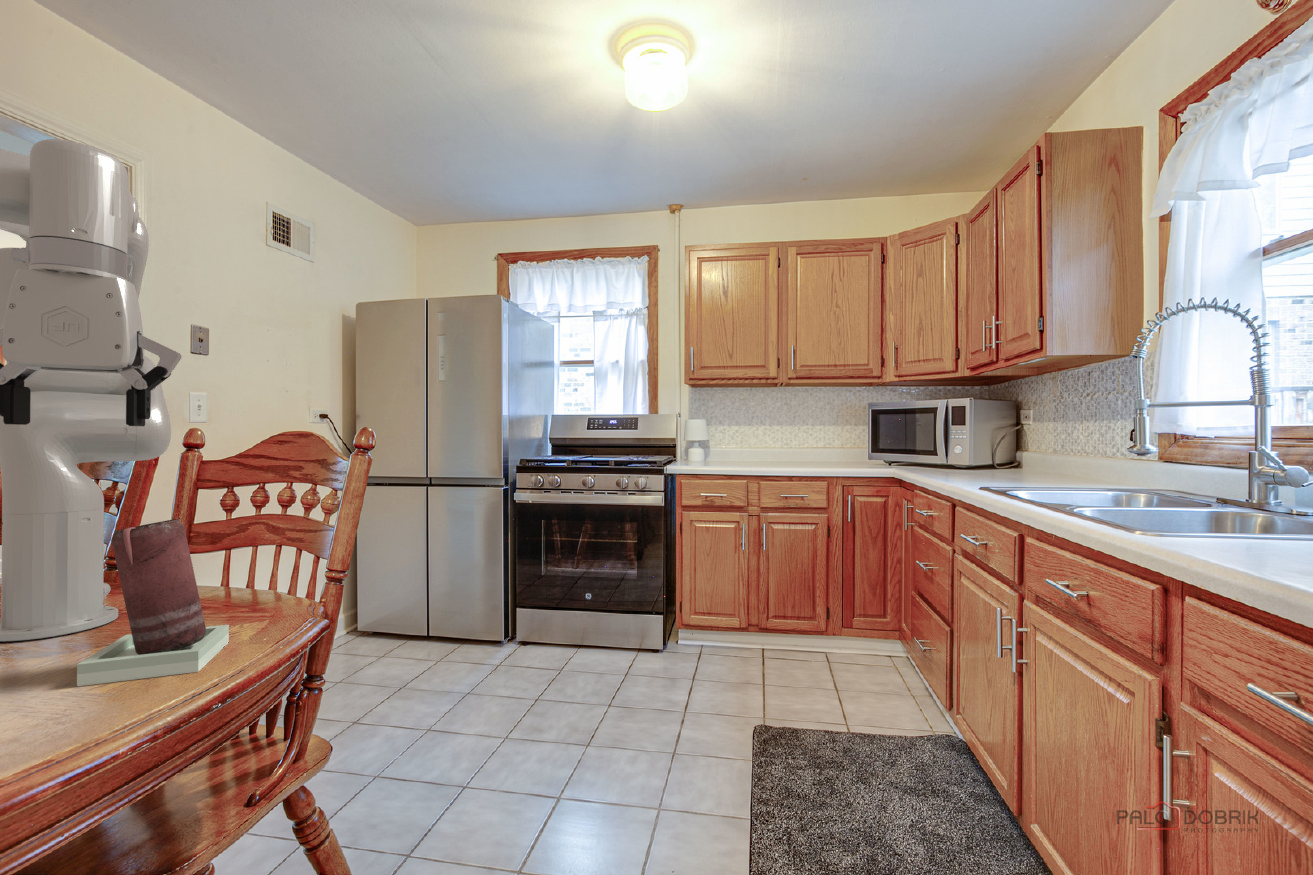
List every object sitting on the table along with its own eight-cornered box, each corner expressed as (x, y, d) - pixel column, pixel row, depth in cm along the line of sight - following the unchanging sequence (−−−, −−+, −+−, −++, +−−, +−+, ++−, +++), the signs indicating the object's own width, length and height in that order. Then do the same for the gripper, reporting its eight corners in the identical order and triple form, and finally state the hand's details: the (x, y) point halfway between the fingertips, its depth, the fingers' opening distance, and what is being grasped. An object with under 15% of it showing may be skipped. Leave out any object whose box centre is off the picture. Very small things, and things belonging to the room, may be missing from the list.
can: (122, 665, 61) (93, 534, 60) (156, 644, 67) (130, 525, 66) (190, 649, 62) (162, 522, 62) (217, 630, 69) (192, 514, 68)
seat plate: (125, 653, 68) (125, 634, 68) (228, 642, 71) (228, 624, 71) (77, 686, 58) (77, 664, 58) (198, 671, 62) (198, 650, 62)
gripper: (-60, 243, 55) (-62, 423, 55) (168, 267, 62) (167, 426, 62) (-9, 264, 62) (-11, 424, 62) (191, 283, 69) (189, 427, 69)
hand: (78, 425), depth 62 cm, fingers open, 9 cm apart
